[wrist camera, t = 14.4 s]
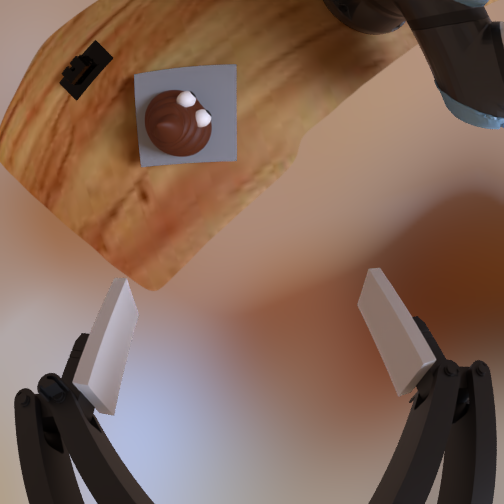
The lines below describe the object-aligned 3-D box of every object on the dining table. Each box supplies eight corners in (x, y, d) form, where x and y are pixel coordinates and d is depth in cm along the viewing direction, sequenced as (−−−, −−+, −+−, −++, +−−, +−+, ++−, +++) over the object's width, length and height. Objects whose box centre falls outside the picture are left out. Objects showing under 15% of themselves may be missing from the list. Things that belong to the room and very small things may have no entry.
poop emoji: (135, 116, 33) (109, 125, 25) (182, 76, 30) (167, 71, 22) (179, 166, 37) (165, 188, 30) (227, 129, 35) (226, 140, 27)
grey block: (235, 67, 33) (236, 64, 30) (236, 154, 41) (236, 160, 38) (142, 75, 32) (134, 74, 29) (148, 160, 40) (141, 167, 37)
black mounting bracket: (101, 31, 27) (89, 26, 23) (126, 55, 31) (115, 51, 27) (54, 87, 31) (39, 88, 27) (76, 111, 34) (62, 114, 30)
